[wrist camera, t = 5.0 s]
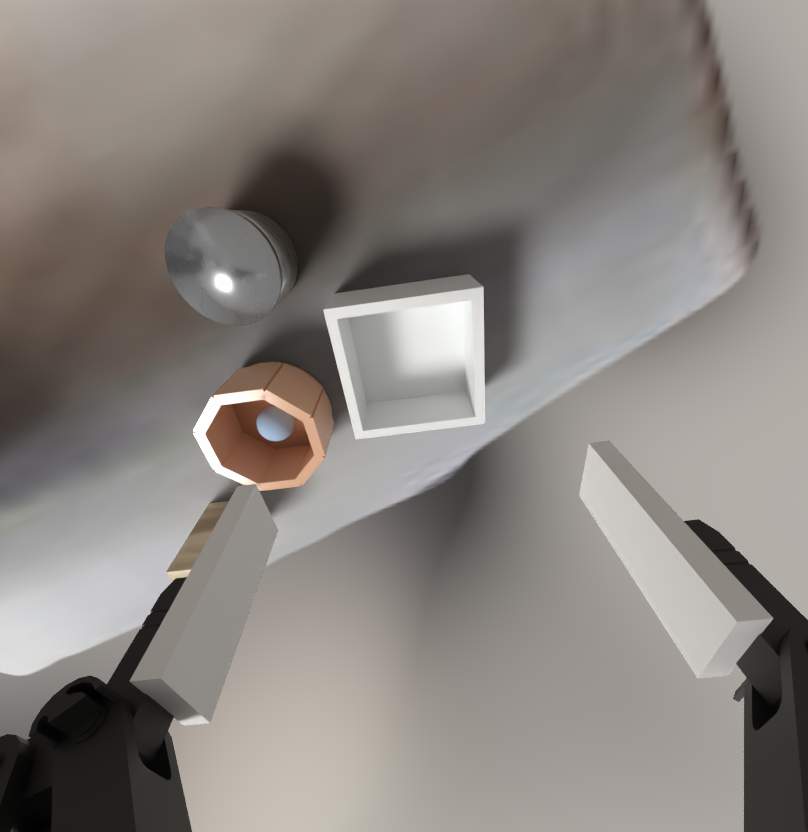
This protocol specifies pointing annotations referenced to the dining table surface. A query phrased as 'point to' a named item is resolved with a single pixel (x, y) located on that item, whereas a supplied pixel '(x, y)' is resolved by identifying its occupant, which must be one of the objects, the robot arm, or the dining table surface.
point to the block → (196, 541)
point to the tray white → (410, 355)
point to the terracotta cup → (240, 439)
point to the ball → (275, 424)
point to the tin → (230, 263)
